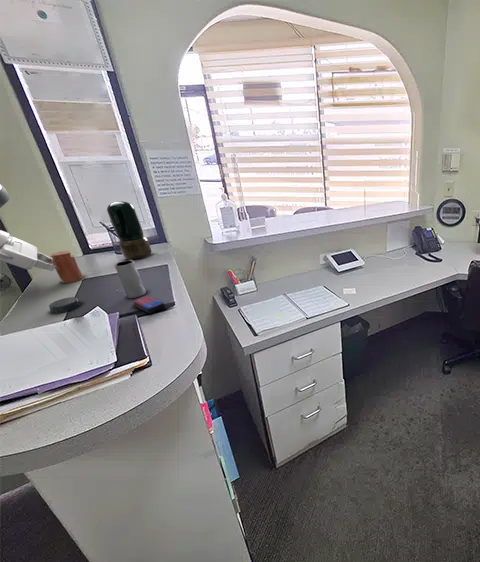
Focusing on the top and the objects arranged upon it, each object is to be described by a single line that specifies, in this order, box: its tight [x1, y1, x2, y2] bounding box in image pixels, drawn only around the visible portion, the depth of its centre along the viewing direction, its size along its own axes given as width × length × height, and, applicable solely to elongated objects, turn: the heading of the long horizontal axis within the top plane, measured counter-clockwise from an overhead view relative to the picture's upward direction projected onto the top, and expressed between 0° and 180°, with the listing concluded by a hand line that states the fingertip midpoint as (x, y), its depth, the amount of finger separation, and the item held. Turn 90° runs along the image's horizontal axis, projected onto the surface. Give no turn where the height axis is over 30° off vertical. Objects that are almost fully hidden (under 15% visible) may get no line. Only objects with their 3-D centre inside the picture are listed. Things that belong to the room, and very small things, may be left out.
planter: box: [114, 259, 147, 299], centre depth 90 cm, size 4×4×10 cm
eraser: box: [133, 295, 165, 315], centre depth 84 cm, size 11×4×2 cm, turn 56°
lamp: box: [106, 200, 153, 260], centre depth 121 cm, size 10×10×22 cm
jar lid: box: [48, 296, 81, 314], centre depth 86 cm, size 6×6×2 cm
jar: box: [50, 250, 85, 284], centre depth 104 cm, size 6×6×10 cm
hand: (53, 265), depth 101 cm, fingers open, 8 cm apart
